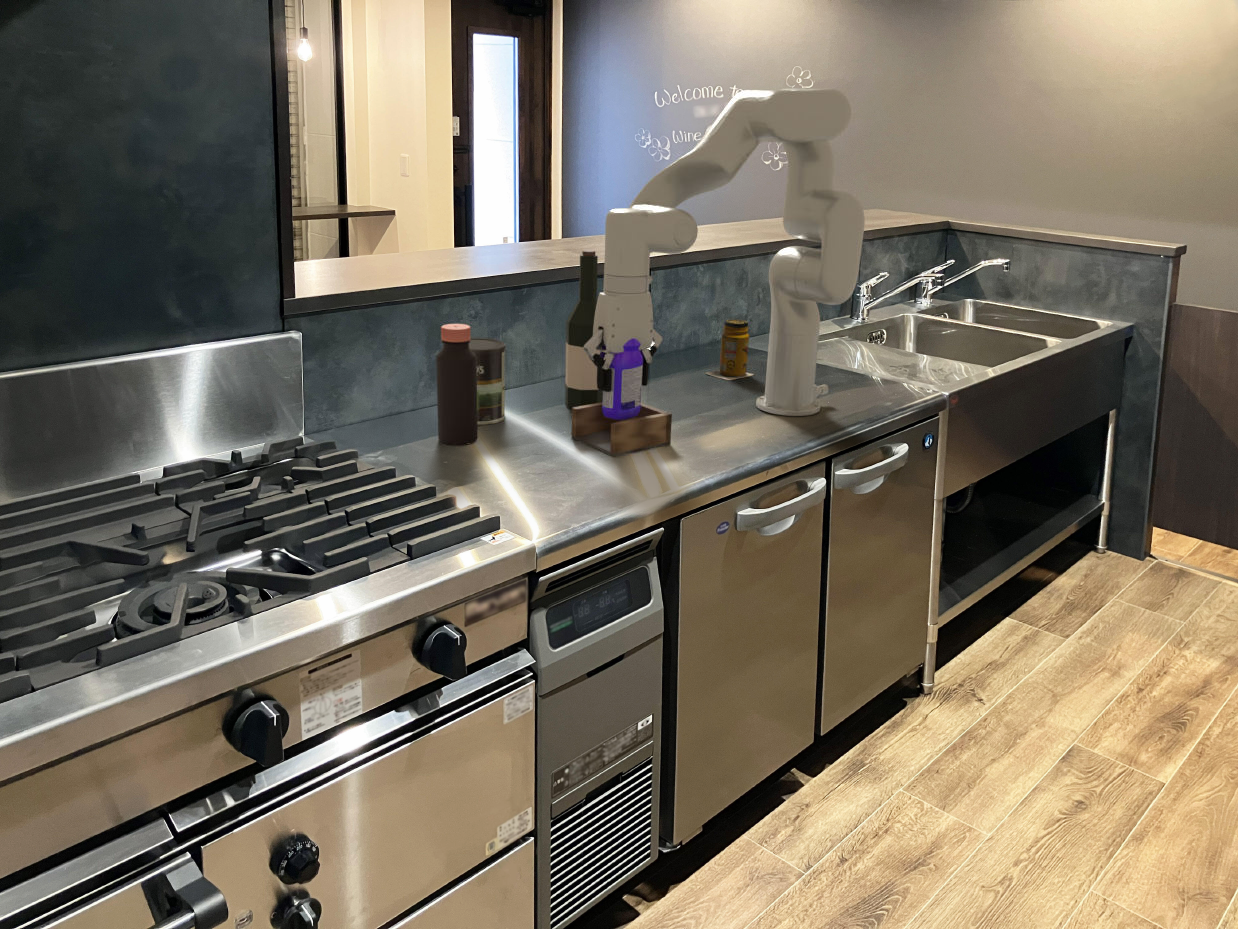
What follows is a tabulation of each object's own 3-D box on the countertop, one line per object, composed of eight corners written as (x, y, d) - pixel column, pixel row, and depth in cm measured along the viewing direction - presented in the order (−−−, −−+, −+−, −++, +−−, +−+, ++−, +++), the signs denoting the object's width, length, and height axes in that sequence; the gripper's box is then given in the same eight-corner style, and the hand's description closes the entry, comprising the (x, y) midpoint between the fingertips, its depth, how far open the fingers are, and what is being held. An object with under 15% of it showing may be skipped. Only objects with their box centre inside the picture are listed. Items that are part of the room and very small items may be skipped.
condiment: (754, 375, 232) (758, 322, 228) (729, 381, 226) (733, 326, 222) (729, 368, 237) (732, 316, 233) (704, 374, 231) (707, 321, 227)
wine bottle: (601, 412, 200) (605, 254, 190) (559, 409, 201) (561, 252, 191) (610, 401, 207) (615, 249, 198) (570, 398, 209) (572, 246, 199)
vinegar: (443, 447, 177) (441, 331, 170) (434, 436, 183) (430, 323, 176) (482, 443, 179) (481, 329, 173) (471, 432, 185) (469, 321, 179)
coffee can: (489, 428, 188) (489, 352, 183) (439, 420, 191) (437, 345, 187) (515, 414, 197) (515, 340, 192) (467, 407, 200) (466, 335, 196)
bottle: (619, 408, 186) (623, 312, 180) (646, 414, 183) (650, 316, 177) (596, 417, 180) (598, 318, 174) (623, 423, 177) (626, 322, 171)
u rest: (626, 427, 191) (627, 397, 189) (670, 444, 182) (671, 414, 180) (571, 438, 184) (572, 407, 182) (614, 457, 175) (615, 425, 173)
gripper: (651, 277, 182) (647, 376, 188) (570, 285, 172) (568, 389, 177) (679, 284, 176) (674, 385, 182) (598, 292, 166) (595, 399, 172)
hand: (622, 386), depth 180 cm, fingers closed on bottle, 7 cm apart
